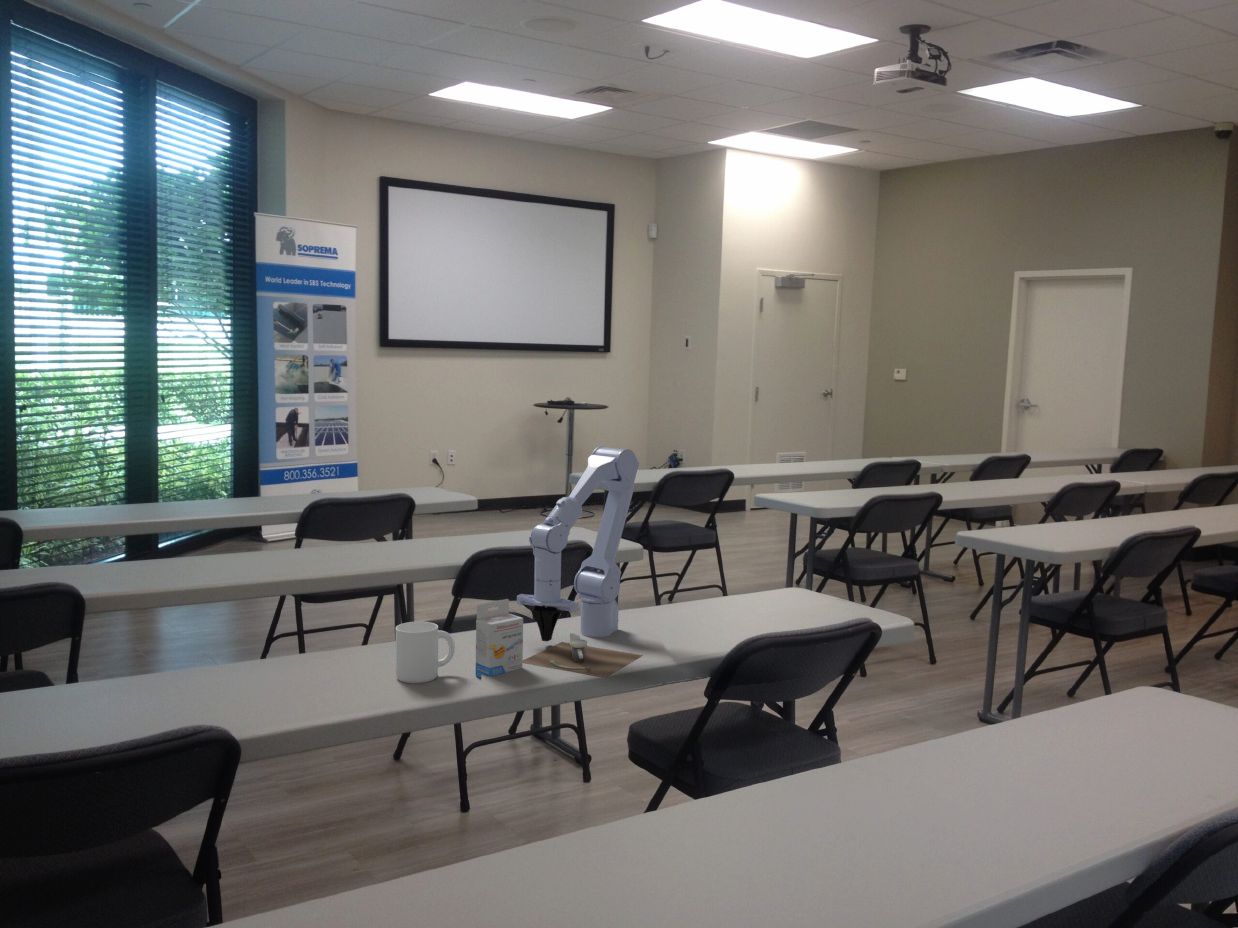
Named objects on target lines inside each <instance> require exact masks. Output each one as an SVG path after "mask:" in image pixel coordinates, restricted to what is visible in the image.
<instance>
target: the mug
mask: <svg viewBox="0 0 1238 928" xmlns="http://www.w3.org/2000/svg"><path fill="white" fill-rule="evenodd" d="M439 639H444V640H445V641H446V642H447V645H448V647H447V648H448V651H447V653H446V655H445V656H444V657H443V658H442V659H441V658H440V659H439ZM455 651H456V643H455V640H454V638H453V636H452V635H451V634H450V633H449V632H447V631H444V630H441V629H440V630H439V625H438V624H436V623H434V622H429V621H409V622H404V623H400V624H398V625H396V626H395V676H396V678H397V680H398V682H399V681H400V682H402V683H404V684H405V683H406V684H424V683H428V682H432V681H434V680H435V679H436V678H438V675H439V668H442V667H444V666H446V665H448V664H449V663H450V662H451V661H452V659H453V657H454V655H455Z"/></svg>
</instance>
